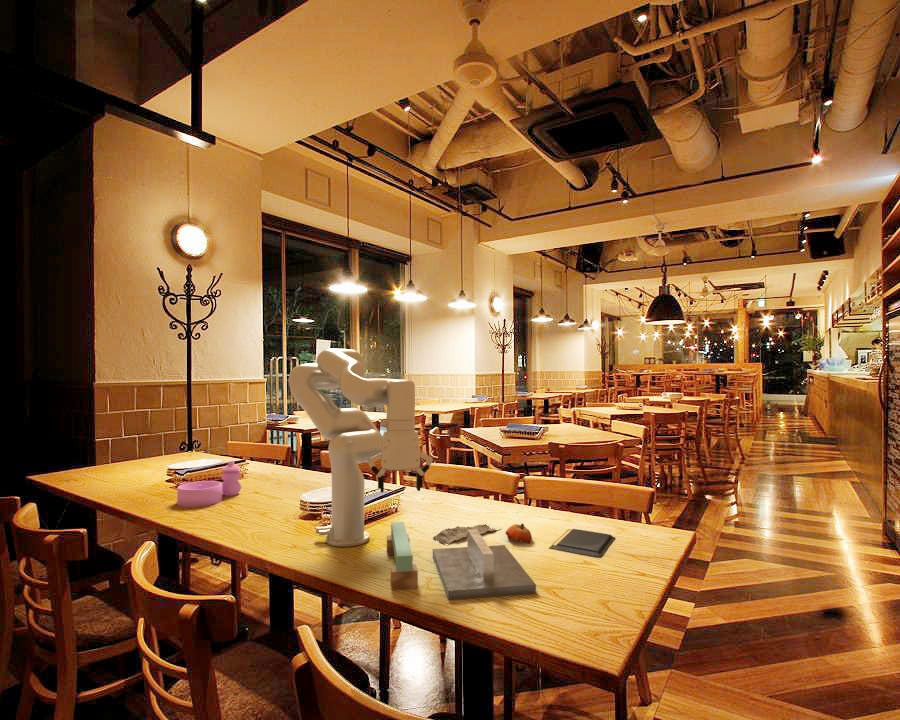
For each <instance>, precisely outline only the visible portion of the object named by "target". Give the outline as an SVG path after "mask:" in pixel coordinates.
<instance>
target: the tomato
mask: <svg viewBox="0 0 900 720" xmlns="http://www.w3.org/2000/svg"><path fill="white" fill-rule="evenodd" d="M505 535H506V536H507V539H508V540H509V541H510V540H515V541H518V542H520V541H521V542H525V543H527V544H530V543H531V542H532V540H533V537H532V532H531V531H530V530H529V529H528V528H527V527H526V526H525V525H524V523H520V524H519V523H516V524H512V525H511V526H509V527H508V528H507V530H505Z"/></svg>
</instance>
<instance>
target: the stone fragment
mask: <svg viewBox="0 0 900 720" xmlns="http://www.w3.org/2000/svg"><path fill="white" fill-rule="evenodd" d="M484 524H485V523H484ZM484 524H478V525H477V524H476V525H474V526H459V525H457V526H456V527H453V528H446V529H443V530H441V531H440V532H439V533H437V534H436V535H434V536H433V537H432V540H433V539H435V540H434V541H436V540H437V541H439V542H440V543H442V544H443V545H445V544H448V545H449V544H452V543H453V542H454V541H458V540H459V541H460V540H461V539H462V538H466V537H468V530H472V529H477V531H478V532H479V534H480V535H482V534H486V533H487V532H488V531H489V532H493V531H496V530H495V529H496V528H494V527H492V529H491V528H490V527H489V526H487V525H486V524H487V523H486V524H485V525H484ZM493 528H494V529H493ZM437 541H436V542H437ZM439 542H438V543H439Z"/></svg>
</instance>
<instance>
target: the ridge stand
mask: <svg viewBox="0 0 900 720" xmlns="http://www.w3.org/2000/svg"><path fill="white" fill-rule="evenodd" d="M432 559H433V561H434V565H435V564H436V565H435V567H436V569H437V572H438V576H439V578H440V580H441V583H442V587H443V589H444V592H445V595H446V597H447V600H448V601H453V600H454V599H456V600H467V598H470V599H481V598H482V597H483V598H495V597H494V596H497V597H506V596H509V597H510V595H511V596H522V595H533V594H534V595H535V594H537V584H536V583H535V582H534V580H533V579H532V578H531V576H530V575H529V574H528V573H527V571H526V570H525V569H524V568H523V566H522V565H521V564H520V563H519V562H518V560H517V559H516V558H515V556H514V555H513V554H512V553H511V552H510V550H509V549H508V547H506V545H504V544H499V545H497V544H496V545H488V544H487V542H486V541H485V539H484V538H483V536H482V534H479V532H478V531H477V529H472V530H468V536H467V546H466V547H465V546H464V547H463V546H461V547H446V548H432Z"/></svg>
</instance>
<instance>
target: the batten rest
mask: <svg viewBox="0 0 900 720" xmlns="http://www.w3.org/2000/svg"><path fill="white" fill-rule="evenodd" d="M407 536H408V540H409V541H410V536H409V534H407ZM386 554H387V556H394V549H393V543H392V537H391V534H390V535H389V534H388V535H386ZM418 570H419V569H418V566H417V564H416V563H415V564H413V563H412V571H405V572H397V569H396V564H394V565H393V564H392V565H390V590H391V591H398V590H409V589H410V590H411V589H412V590H413V589H418V586H419V585H418V584H419V583H418V582H419V581H418V578H419V577H418V576H419V574H418V573H419V571H418Z"/></svg>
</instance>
